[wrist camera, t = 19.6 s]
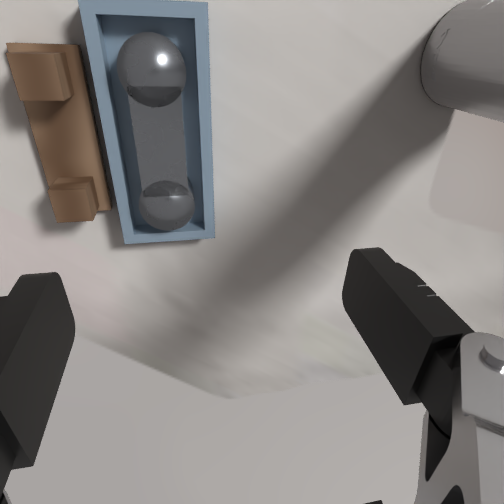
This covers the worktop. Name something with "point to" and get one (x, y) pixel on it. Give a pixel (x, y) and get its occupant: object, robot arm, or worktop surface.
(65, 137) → the wooden plank with blocks
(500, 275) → the worktop surface
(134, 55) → the steel dumbbell
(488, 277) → the worktop surface
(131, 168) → the slate-blue tray
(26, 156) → the worktop surface
